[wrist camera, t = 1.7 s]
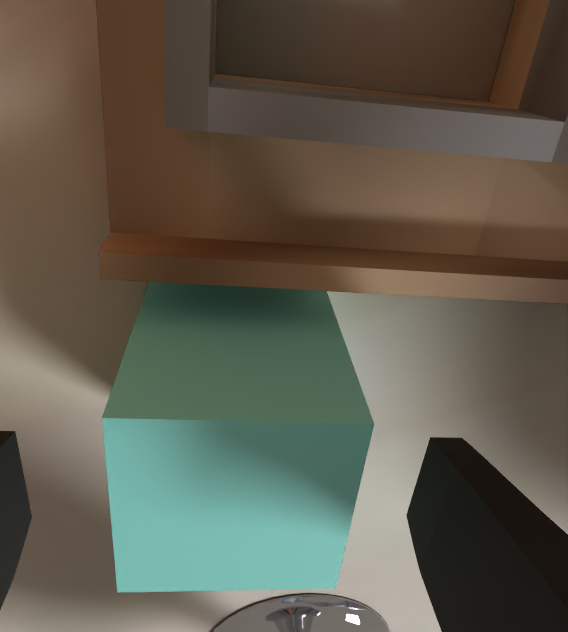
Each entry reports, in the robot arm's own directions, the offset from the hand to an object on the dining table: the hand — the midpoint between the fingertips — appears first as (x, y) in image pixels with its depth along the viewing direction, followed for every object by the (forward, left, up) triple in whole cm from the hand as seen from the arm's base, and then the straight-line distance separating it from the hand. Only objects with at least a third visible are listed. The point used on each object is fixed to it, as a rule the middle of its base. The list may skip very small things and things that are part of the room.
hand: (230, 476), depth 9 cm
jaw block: (0, 0, -4) cm, 4 cm away
